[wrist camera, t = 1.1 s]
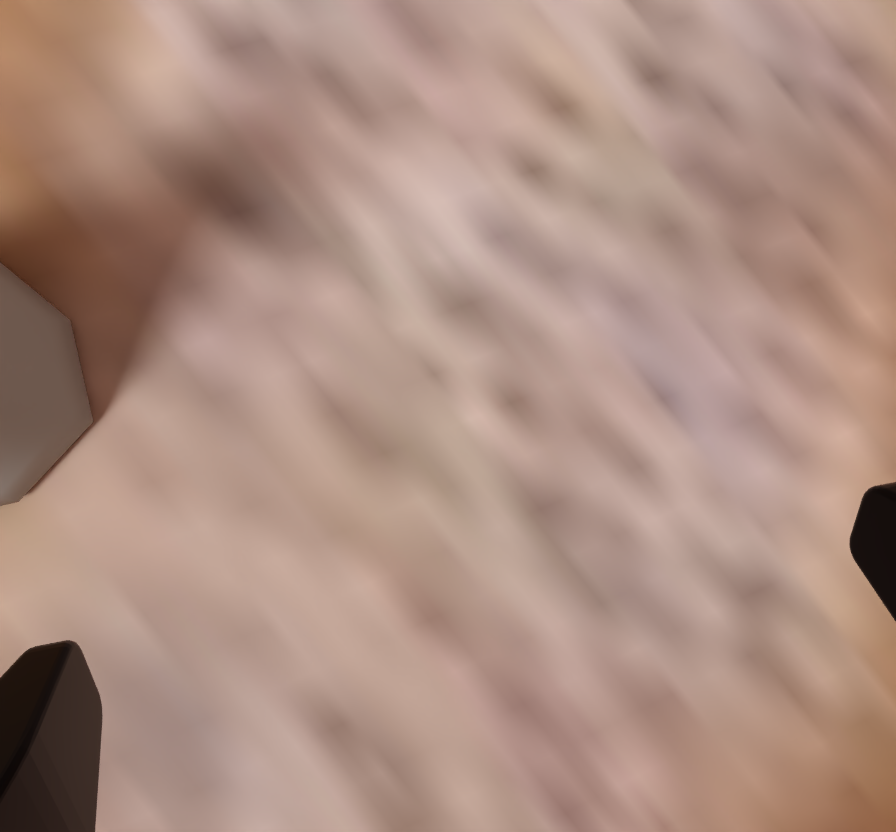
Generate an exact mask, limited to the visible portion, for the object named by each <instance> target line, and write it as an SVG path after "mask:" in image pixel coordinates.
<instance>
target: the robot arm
mask: <svg viewBox="0 0 896 832" xmlns="http://www.w3.org/2000/svg"><path fill="white" fill-rule="evenodd" d="M850 550H851V553H852V556H853V558H854V560H855V562H856V563H857V565H858V566H859V568H860V569H861V571H862V572H863V574H864V575H865V577H866V578H867V580H868V581H869V583H870V584H871V586H872V587H873V588H874V590H875V591H876V593H877V594H878V596H879V597H880V599H881V600H882V602H883V603H884V605H885V606H886V608H887V609H888V611H889V612H890V614H891V615H892V617H893V618H894V620H895V621H896V482H894V483H888V484H883V485H878V486H874V487H871V488H869V489H868V490H867V491H866V492H865V494H864V496H863V498H862V501H861V504H860V507H859V510H858V514H857V517H856V520H855V523H854V526H853V530H852V533H851V536H850ZM101 732H102V704H101V699H100V695H99V692H98V689H97V687H96V685H95V682H94V680H93V677H92V675H91V672H90V670H89V667H88V665H87V662H86V660H85V657H84V655H83V653H82V650H81V648H80V647H79V645H78V644H77V643H76V642H74V641H70V640H66V641H61V642H56V643H50V644H45V645H40V646H35V647H33V648H30V649H28V650H27V651H26V652H24V653H23V654H22V655H21V656H20V657H19V658H18V659H17V661H16V662H15V663H14V664H13V665H12V666H11V667H10V668H9V669H8V670H7V671H6V672H5V673H4V674H3V676H2V677H1V678H0V832H95V824H96V809H97V793H98V778H99V763H100V747H101Z"/></svg>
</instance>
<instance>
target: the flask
mask: <svg viewBox="0 0 896 832" xmlns="http://www.w3.org/2000/svg"><path fill="white" fill-rule="evenodd" d="M92 423H93V418H92V414H91V409H90V405H89V400H88V396H87V392H86V387H85V383H84V378H83V374H82V369H81V365H80V361H79V356H78V352H77V347H76V343H75V338H74V334H73V330H72V325H71V321H70V320H69V319H68V318H67V317H66V316H65V315H63V314H62V313H61V312H60V311H59V310H57V309H56V308H55V307H54V306H53V305H51V304H50V303H49V302H48V301H47V300H45V299H44V298H43V297H42V296H40V295H39V294H38V293H37V292H36V291H34V290H33V289H32V288H31V287H30V286H28V285H27V284H26V283H25V282H24V281H22V280H21V279H20V278H19V277H17V276H16V275H15V274H14V273H13V272H11V271H10V270H9V269H8V268H7V267H5V266H4V265H3V264H2V263H1V262H0V506H2V505H6V504H11V503H15V502H19V501H20V500H21V499H22V498H23V496H24V495H25V494H26V493H27V492H28V491H29V490H30V489H31V488H32V487H33V486H34V485H35V484H36V483H37V481H38V480H39V479H40V478H41V477H42V476H43V475H44V474H45V473H46V472H47V471H48V470H49V469H50V468H51V467H52V465H53V464H54V463H55V462H56V461H57V460H58V459H59V458H60V457H61V456H62V455H63V454H64V453H65V452H66V450H67V449H68V448H69V447H70V446H71V445H72V444H73V443H74V442H75V441H76V440H77V439H78V438H79V437H80V435H81V434H82V433H83V432H84V431H85V430H86V429H87V428H88V427H89V426H90V425H91V424H92Z"/></svg>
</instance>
